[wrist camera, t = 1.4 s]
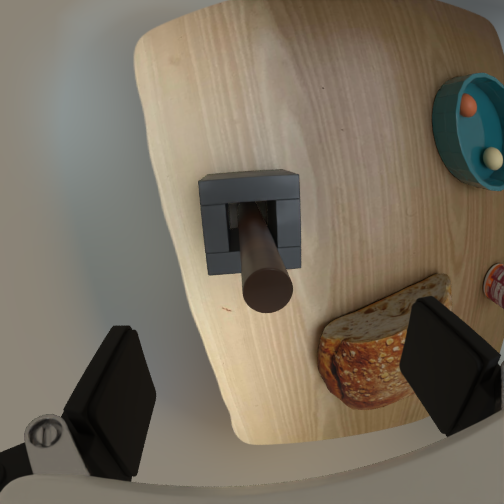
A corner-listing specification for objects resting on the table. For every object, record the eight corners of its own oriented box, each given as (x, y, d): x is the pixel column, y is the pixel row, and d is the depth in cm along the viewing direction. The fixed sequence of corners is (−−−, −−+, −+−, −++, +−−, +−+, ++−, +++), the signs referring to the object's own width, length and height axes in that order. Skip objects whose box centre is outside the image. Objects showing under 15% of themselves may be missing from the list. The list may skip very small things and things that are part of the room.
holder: (206, 174, 30) (197, 181, 23) (283, 169, 31) (299, 174, 23) (213, 247, 33) (208, 275, 25) (286, 241, 33) (301, 268, 26)
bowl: (426, 67, 27) (449, 59, 22) (497, 90, 28) (519, 88, 23) (433, 182, 32) (457, 188, 27) (501, 187, 32) (523, 192, 28)
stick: (236, 199, 32) (240, 270, 13) (257, 197, 32) (292, 266, 13) (238, 219, 32) (244, 315, 13) (258, 218, 32) (293, 311, 13)
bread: (441, 265, 36) (485, 296, 26) (434, 361, 41) (463, 397, 32) (304, 311, 36) (326, 362, 27) (323, 404, 42) (339, 452, 33)
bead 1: (448, 92, 28) (463, 89, 25) (465, 96, 28) (480, 95, 25) (450, 115, 29) (466, 114, 26) (467, 119, 29) (482, 119, 26)
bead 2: (478, 145, 30) (494, 146, 27) (491, 147, 30) (506, 149, 27) (478, 167, 31) (494, 170, 28) (491, 169, 31) (506, 172, 28)
